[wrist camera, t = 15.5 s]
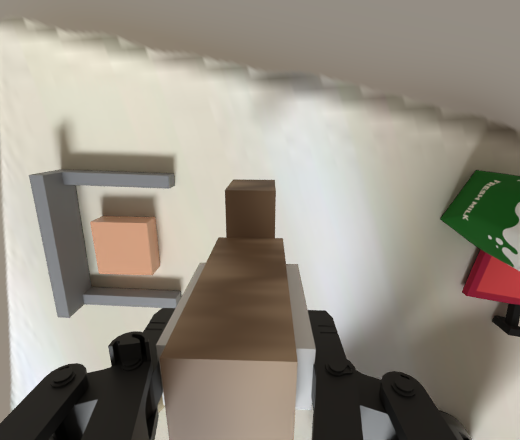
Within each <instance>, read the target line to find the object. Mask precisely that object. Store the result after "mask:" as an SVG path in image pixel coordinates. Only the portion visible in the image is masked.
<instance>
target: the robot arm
mask: <svg viewBox="0 0 520 440" xmlns="http://www.w3.org/2000/svg"><path fill="white" fill-rule="evenodd" d="M205 264H206V263H200V264H199V266H198V267H197V269H196V271H195V273H194V275H193V277H192V279H191V280H190V282H189V284H188V286H187V288H186V290H185V292H184V294H183V295H182V297H181V299H180V301H179V303H178V305H177V307H176V308H162V309H161V310H159V311H158V312H157V313H155V314H154V316H153V317H152V319H151V320H150V322H149V324H148V325H147V327H146V328H145V330H144V331H143V333H142V332H129V333H125V334H123V335H121V336H118V337H117V338H116V339H114V340H113V341H112V342H111V343H110V345H109V346H108V348H109V353H110V359H111V364H112V366H111V367H110V368H107V369H104V370H99V371H95V372H90V373H87V371H86V368H85V367H84V366H83V365H81V364H77V363H76V364H68V365H65V366H62V367H59V368H58V369H56V370H54V371H52V372H51V373H50V374H48V375H47V376H46V377H45V378H44V379H43V380H42V381H41V382H40V383H39V384H38V385H37V386H36V387H35V388H34V389H33V390H32V391H31V392H30V393H29V394H28V395H27V396H26V397H25V398H24V399H23V400H22V402H21V403H20V404H19V405H18V406H17V407H16V408H15V409H14V410H13V411H12V412H11V413H10V414H9V415H8V416H7V417H6V418H5V419H4V420H3V421H2V422H1V423H0V440H154V439H155V434H156V428H157V422H158V417H159V416H158V403H159V401H160V398H161V396H162V397H163V405H165V400H164V392H163V384H162V376H161V367H160V359H159V358H160V356H161V354H162V352H163V350H164V348H165V346H166V344H167V342H168V340H169V337H170V335H171V333H172V331H173V329H174V327H175V325H176V323H177V321H178V319H179V317H180V315H181V313H182V311H183V309H184V307H185V305H186V303H187V301H188V299H189V297H190V295H191V293H192V291H193V289H194V287H195V285H196V283H197V281H198V278H199V276H200V274H201V272H202V270H203V268H204V266H205ZM286 270H287V278H288V286H289V294H290V303H291V311H292V319H293V328H294V336H295V344H296V353H297V361H298V364H297V384H296V403H295V409H296V410H311V408H312V404H313V411H314V414H313V427H312V440H472V439H471V438H470V436H469V434H468V433H467V431H466V430H465V428H464V427H463V425H462V424H461V423H460V422H459V421H458V420H457V419H456V418H454V417H453V416H451V415H449V414H446V413H444V412H440V411H439V410H438V409H437V407H436V406H435V404H434V403H433V401H432V400H431V398H430V397H429V395H428V393H427V392H426V390H425V389H424V387H423V386H422V385H421V384H420V383H419V382H418V381H417V380H416V379H414V378H413V377H411V376H409V375H407V374H404V373H402V372H395V371H393V372H387V373H386V374H385V375H383V377H382V380H380V379H377V378H373V377H370V376H367V375H364V374H362V373H360V372H358V371H356V370H355V367H354V366H353V364H352V363H351V362H350V361H349V360H347V359H346V356H345V353H344V350H343V347H342V344H341V341H340V338H339V335H338V334H337V329H336V327H335V324H334V321H333V318H332V317H331V316H330V315H329V314H328V313H327V312H326V311H317V310H307V305H306V301H305V296H304V291H303V287H302V282H301V277H300V272H299V268H298V264H286Z"/></svg>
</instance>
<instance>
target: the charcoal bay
mask: <svg viewBox="0 0 520 440" xmlns="http://www.w3.org/2000/svg"><path fill="white" fill-rule="evenodd" d="M29 178H30V183H31V188H32V193H33V198H34V202H35V207H36V212H37V217H38V222H39V227H40V232H41V237H42V242H43V247H44V252H45V256H46V261H47V266H48V271H49V276H50V281H51V286H52V291H53V296H54V301H55V306H56V310H57V315H58V317H65V318H70V317H71V316H72V315H73V314H74V313H75V312H76V311H77V310H78V309H80V308H81V307H82V306H83V305H84V304H91V305H112V306H133V307H155V308H176V307H177V305H178V303H179V301H180V299H181V291H169V290H147V289H126V288H104V287H91V281H90V275H89V269H88V262H87V256H86V250H85V243H84V237H83V231H82V224H81V218H80V212H79V205H78V199H77V193H76V186H75V185H90V186H116V187H143V188H171V187H173V186H175V184H174V174H172V173H144V172H116V171H89V170H55V171H49V172H44V173H38V174H32V175H29Z"/></svg>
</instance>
